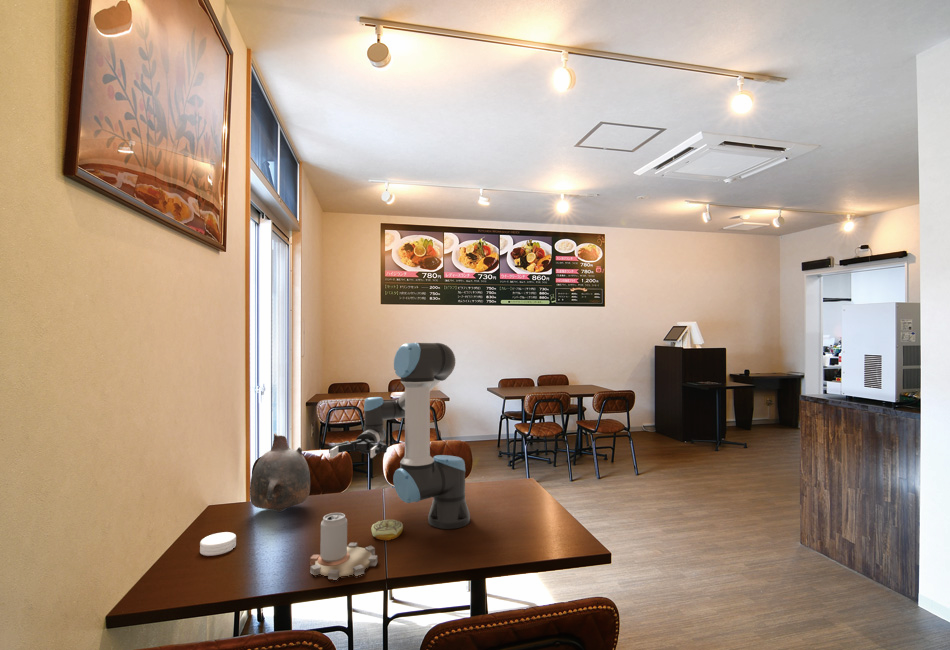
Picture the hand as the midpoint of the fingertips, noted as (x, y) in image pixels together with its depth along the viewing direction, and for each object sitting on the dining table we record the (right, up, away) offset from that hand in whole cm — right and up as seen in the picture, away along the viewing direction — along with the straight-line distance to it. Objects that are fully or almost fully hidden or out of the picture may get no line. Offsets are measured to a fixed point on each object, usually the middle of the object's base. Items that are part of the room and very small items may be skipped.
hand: (351, 453), depth 152 cm
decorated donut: (+12, -28, +2) cm, 31 cm away
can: (0, -25, -18) cm, 31 cm away
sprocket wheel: (+3, -27, -18) cm, 33 cm away
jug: (-34, -29, +24) cm, 51 cm away
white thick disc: (-40, -28, -8) cm, 49 cm away
